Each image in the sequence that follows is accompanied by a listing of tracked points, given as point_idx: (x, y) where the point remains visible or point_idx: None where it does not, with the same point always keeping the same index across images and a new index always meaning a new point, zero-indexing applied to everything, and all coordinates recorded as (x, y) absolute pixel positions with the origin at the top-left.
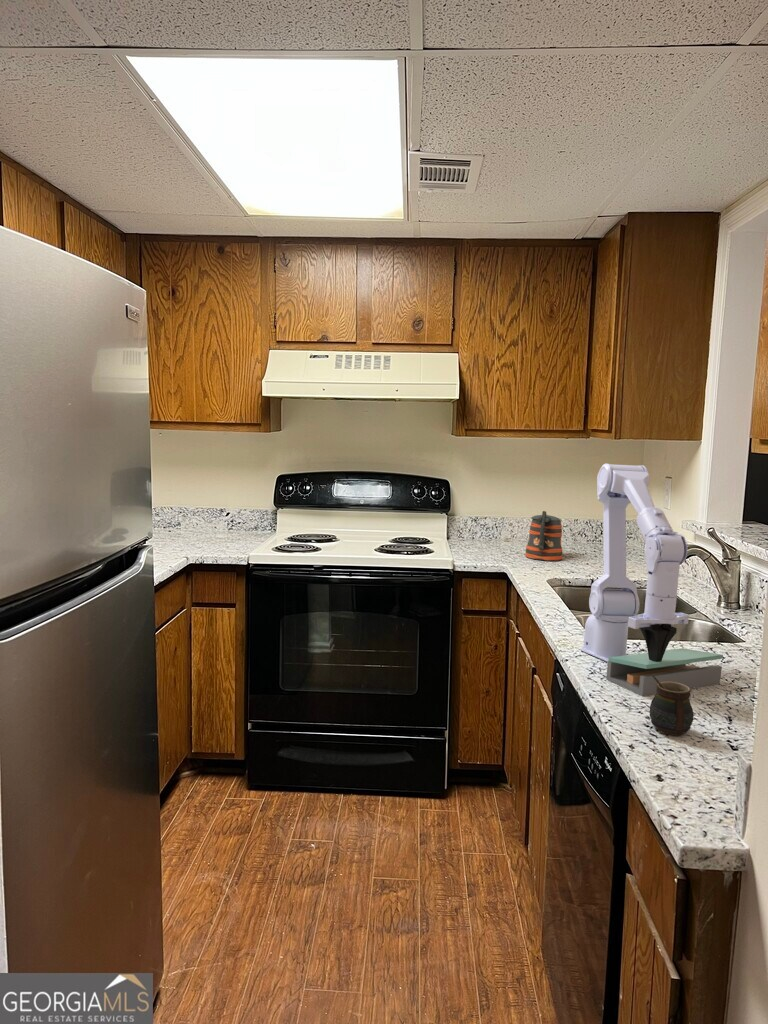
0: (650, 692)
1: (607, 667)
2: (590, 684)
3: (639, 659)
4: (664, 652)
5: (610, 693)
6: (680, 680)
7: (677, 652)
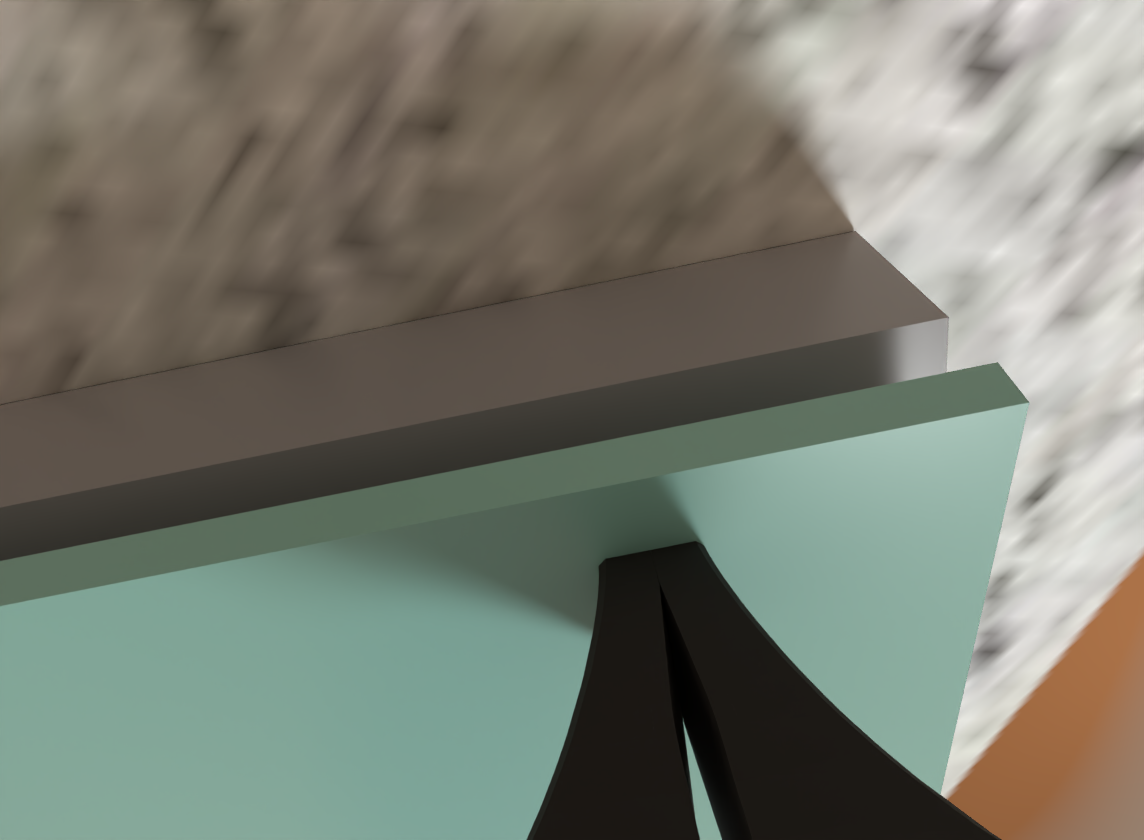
0: (746, 265)
1: None
2: (1093, 540)
3: None
4: (598, 649)
5: (1107, 338)
6: (285, 398)
7: None
